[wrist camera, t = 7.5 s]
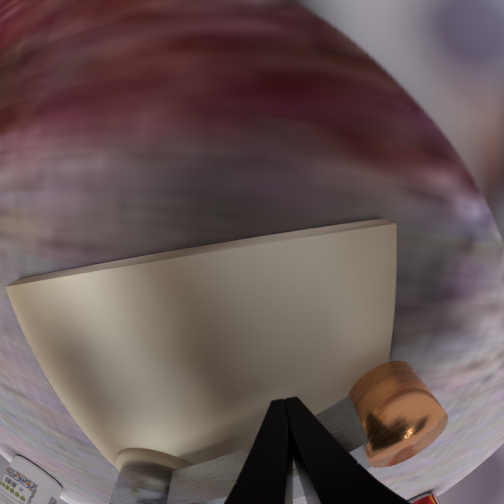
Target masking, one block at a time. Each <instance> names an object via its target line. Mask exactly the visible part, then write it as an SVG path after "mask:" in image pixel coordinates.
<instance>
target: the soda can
mask: <svg viewBox="0 0 504 504" xmlns="http://www.w3.org/2000/svg"><path fill="white" fill-rule="evenodd" d="M409 502H410V503H412V504H441V503H440V501H439V500H438V498H437V497H436V495H435V494H427V493H426V494H422V495H420V496H417V497H415V498H413V499H411V500H409Z"/></svg>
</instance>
